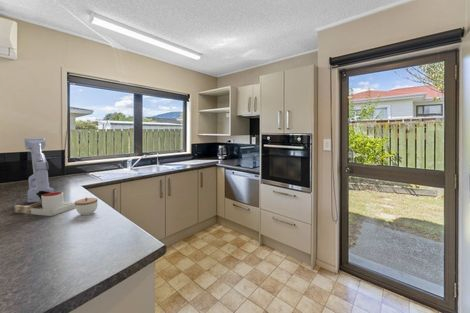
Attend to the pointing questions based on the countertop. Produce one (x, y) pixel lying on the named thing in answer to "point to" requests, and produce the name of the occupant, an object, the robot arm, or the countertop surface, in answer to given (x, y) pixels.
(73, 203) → the dock
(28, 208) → the bay
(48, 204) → the cup
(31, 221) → the countertop surface
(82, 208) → the lidded jar
